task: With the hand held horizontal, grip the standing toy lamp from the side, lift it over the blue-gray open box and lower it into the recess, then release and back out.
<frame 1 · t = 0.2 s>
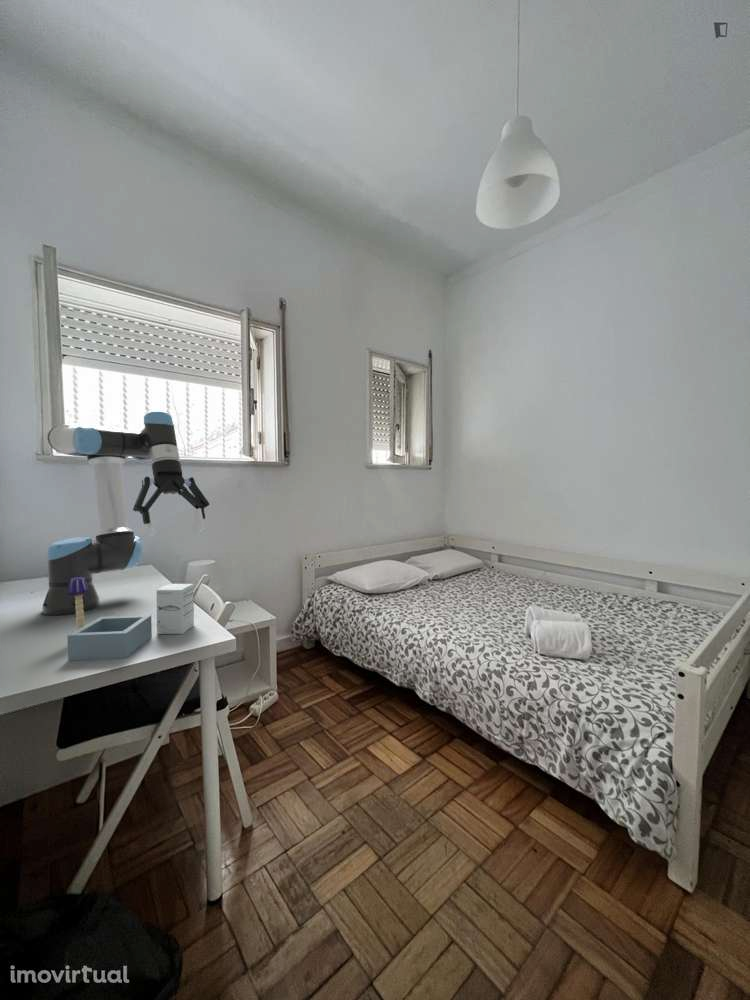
hand: (178, 532, 110), 28 cm above the table, tool tilted 20°, fingers open, 13 cm apart
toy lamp: (80, 640, 104), on the table
blue-gray open box: (112, 647, 99), on the table
supplement box: (176, 630, 111), on the table
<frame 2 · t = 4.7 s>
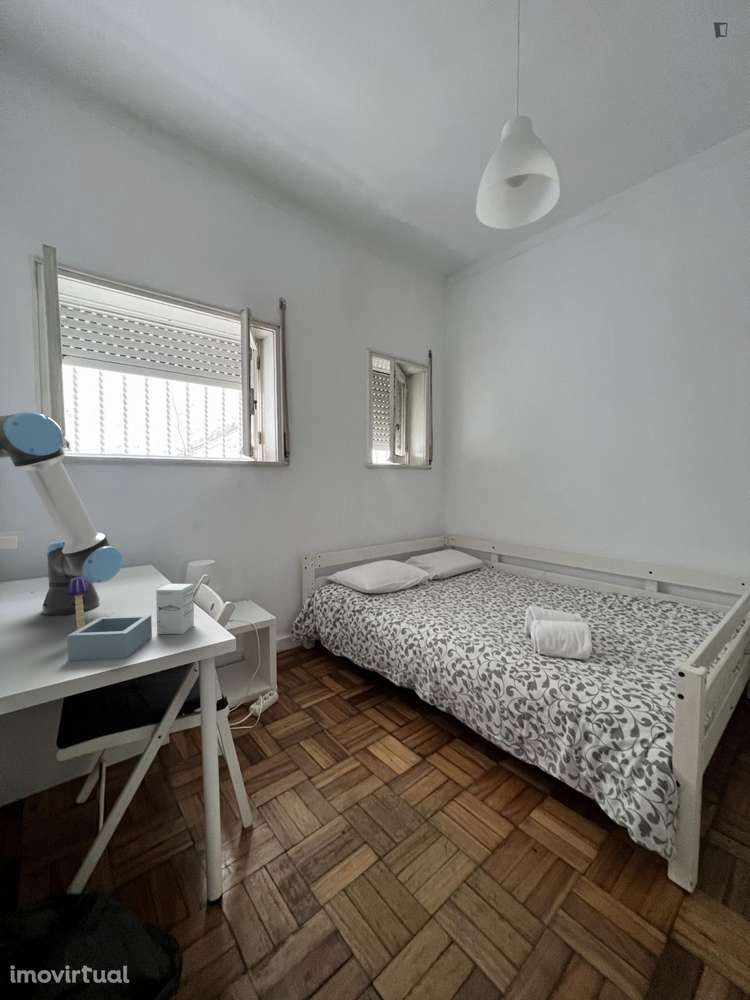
hand: (21, 539, 96), 28 cm above the table, tool horizontal, fingers open, 13 cm apart
nothing on the table moved.
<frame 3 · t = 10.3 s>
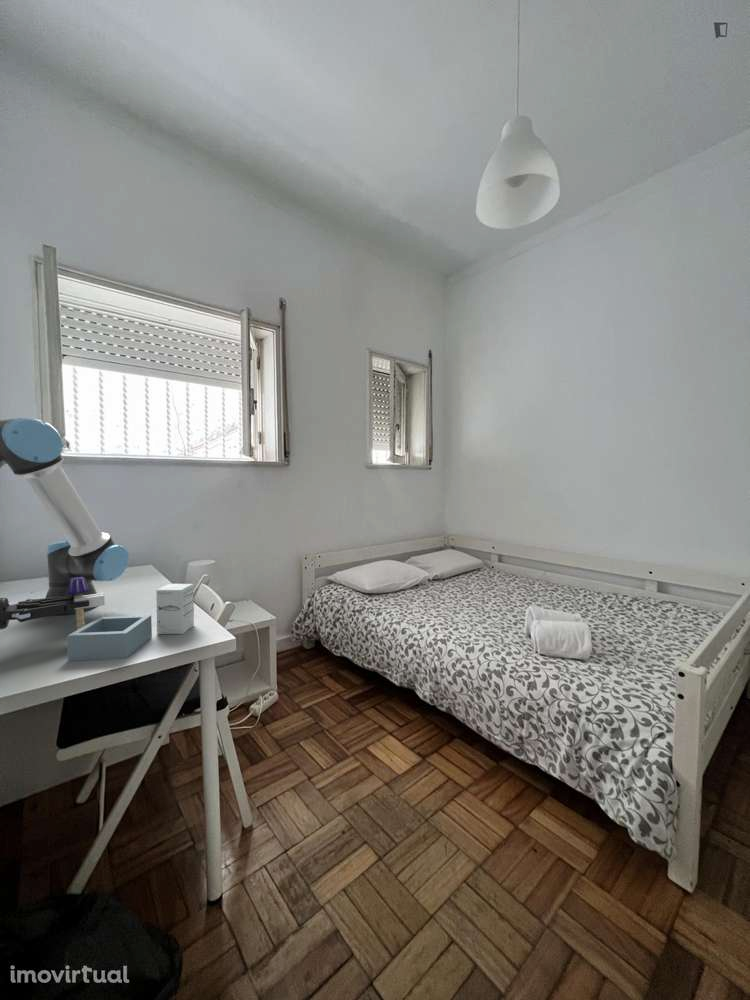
hand: (104, 598, 107), 10 cm above the table, tool horizontal, fingers closed on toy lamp, 2 cm apart
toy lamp: (80, 639, 104), on the table, touching gripper
everything else where it was.
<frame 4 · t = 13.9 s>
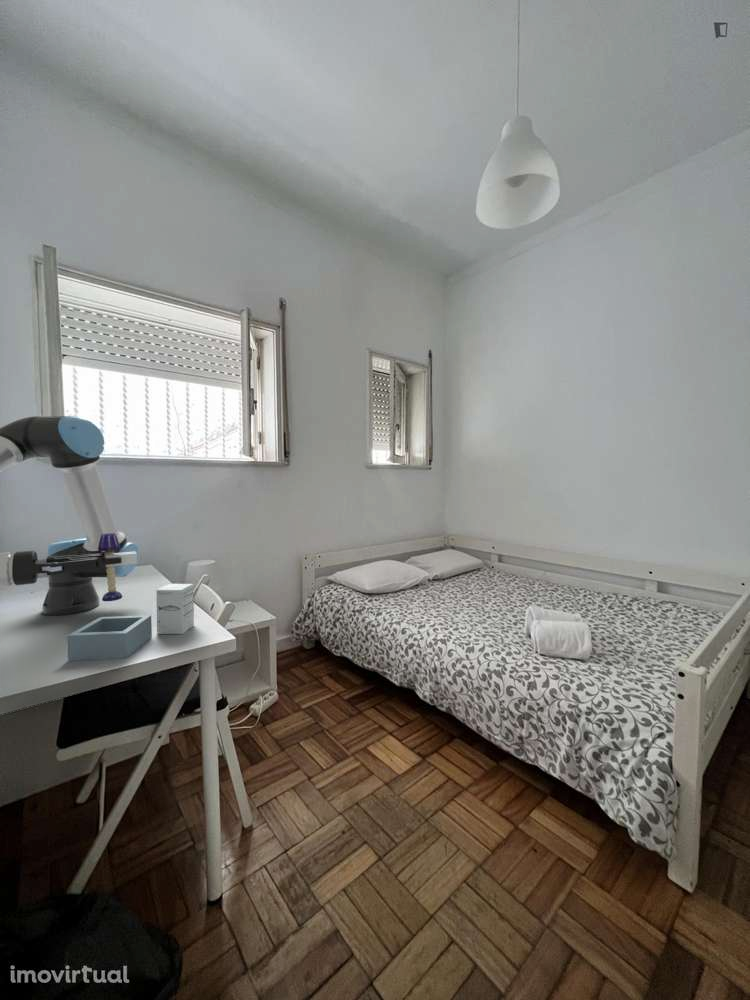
hand: (135, 557, 101), 23 cm above the table, tool horizontal, fingers closed on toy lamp, 2 cm apart
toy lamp: (110, 599, 98), point 12 cm above the table, touching gripper
everything else where it was.
when the fingers open (11 cm above the table, at t = 17.6 s): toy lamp stays where it is, resting on blue-gray open box.
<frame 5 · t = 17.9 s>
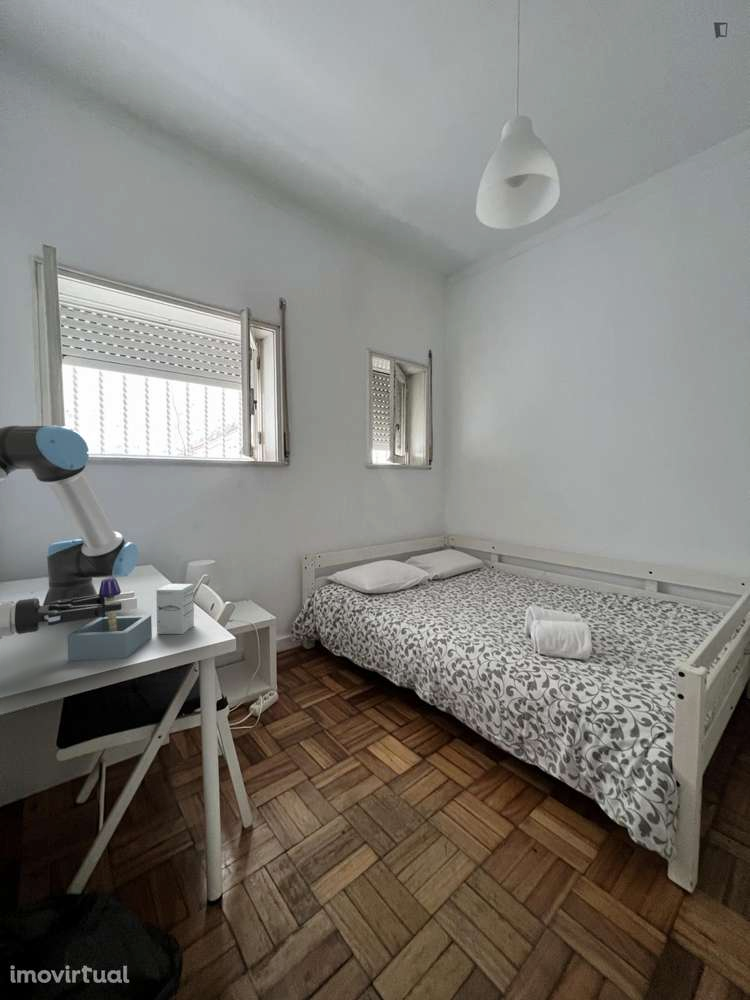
hand: (135, 599, 101), 11 cm above the table, tool horizontal, fingers open, 6 cm apart
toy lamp: (112, 644, 99), point 1 cm above the table, touching blue-gray open box
everything else where it was.
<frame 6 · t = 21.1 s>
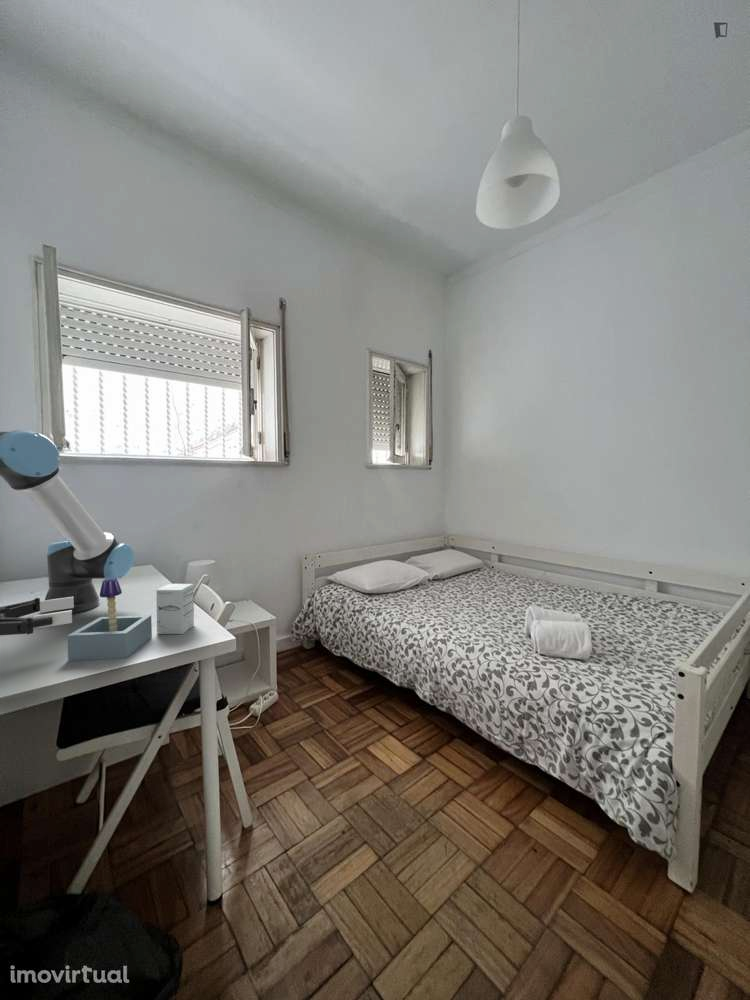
hand: (73, 608, 94), 12 cm above the table, tool horizontal, fingers open, 13 cm apart
nothing on the table moved.
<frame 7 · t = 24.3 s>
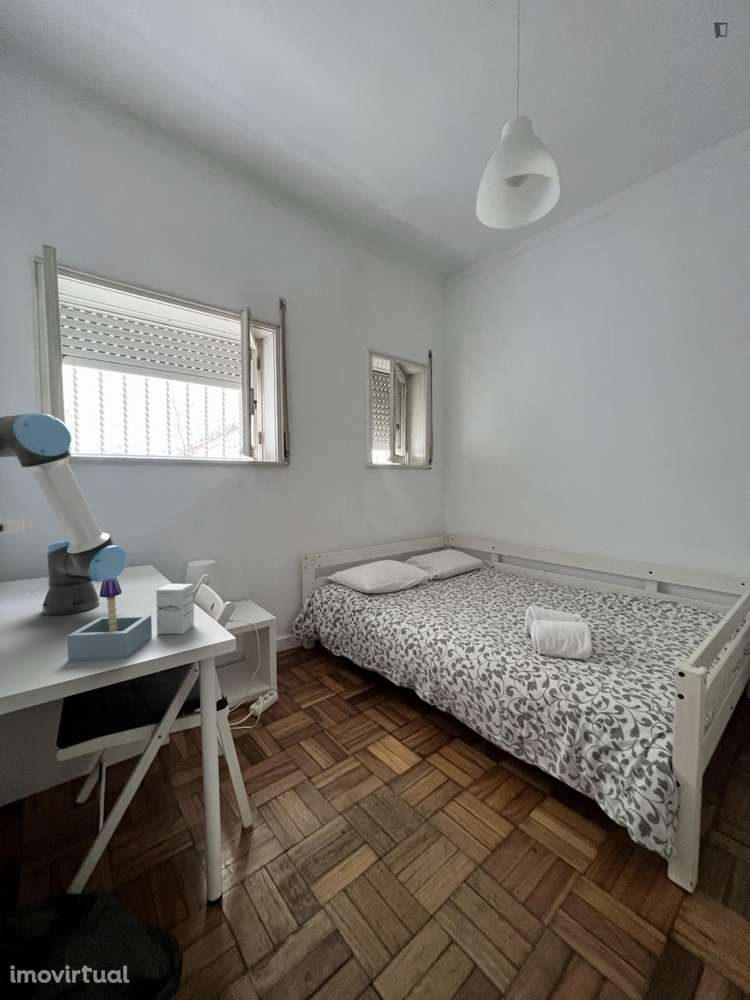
hand: (28, 524, 93), 32 cm above the table, tool horizontal, fingers open, 13 cm apart
nothing on the table moved.
at the end: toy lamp 0.1 cm off-centre on the blue-gray open box, point 0.8 cm above the blue-gray open box's base; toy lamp tilted 0°; the gripper is holding nothing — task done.
